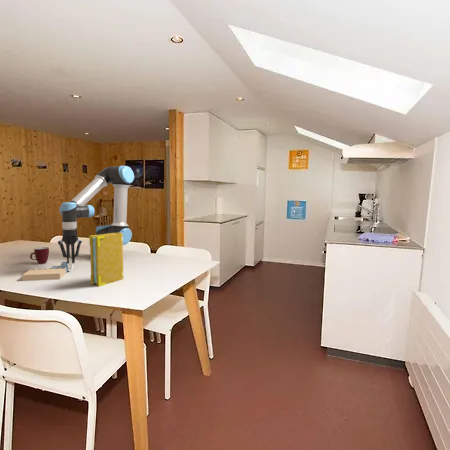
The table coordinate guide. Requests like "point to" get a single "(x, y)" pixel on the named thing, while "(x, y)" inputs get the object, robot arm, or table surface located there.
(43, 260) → the mug
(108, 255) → the book
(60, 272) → the board
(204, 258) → the table surface
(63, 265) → the stub
